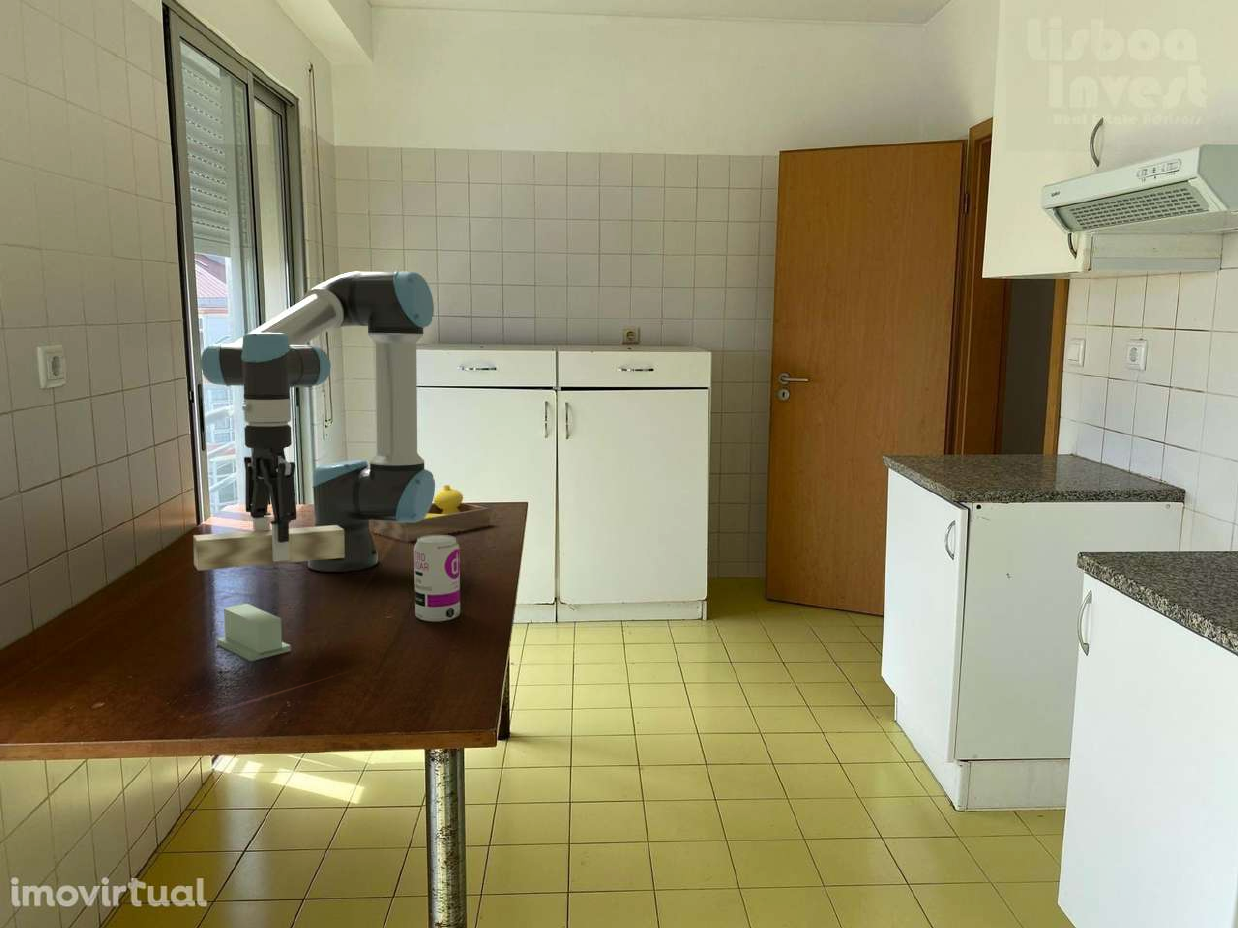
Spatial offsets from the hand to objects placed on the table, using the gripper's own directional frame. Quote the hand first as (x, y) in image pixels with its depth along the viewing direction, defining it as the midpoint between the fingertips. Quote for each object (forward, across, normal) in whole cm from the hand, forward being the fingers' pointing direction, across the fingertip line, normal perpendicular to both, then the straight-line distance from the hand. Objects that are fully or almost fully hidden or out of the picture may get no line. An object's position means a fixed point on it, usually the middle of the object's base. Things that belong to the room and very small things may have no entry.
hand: (271, 556), depth 167 cm
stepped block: (+14, +4, -6) cm, 16 cm away
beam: (+1, 0, 0) cm, 1 cm away
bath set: (+12, -52, +73) cm, 90 cm away
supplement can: (+14, +12, +27) cm, 32 cm away
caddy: (+12, -50, +69) cm, 86 cm away
